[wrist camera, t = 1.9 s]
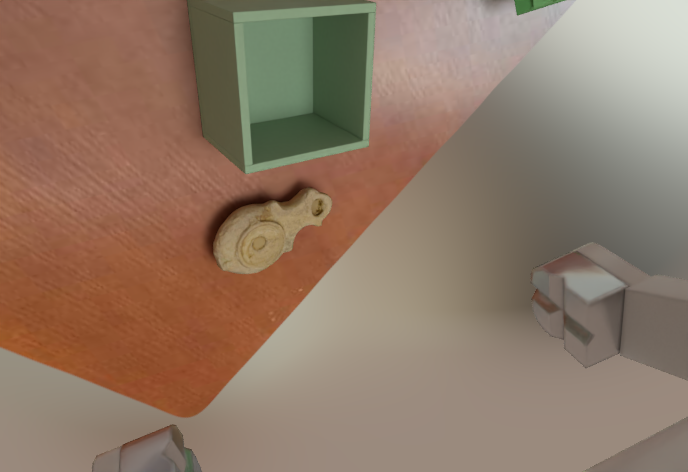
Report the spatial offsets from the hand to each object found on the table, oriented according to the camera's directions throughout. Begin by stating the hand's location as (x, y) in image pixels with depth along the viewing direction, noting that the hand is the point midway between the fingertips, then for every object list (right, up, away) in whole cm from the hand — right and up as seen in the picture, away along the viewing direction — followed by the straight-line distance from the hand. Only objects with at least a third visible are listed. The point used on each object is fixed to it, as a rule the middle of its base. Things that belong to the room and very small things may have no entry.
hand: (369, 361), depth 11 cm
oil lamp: (-11, +5, +53) cm, 54 cm away
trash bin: (-9, +21, +44) cm, 49 cm away
